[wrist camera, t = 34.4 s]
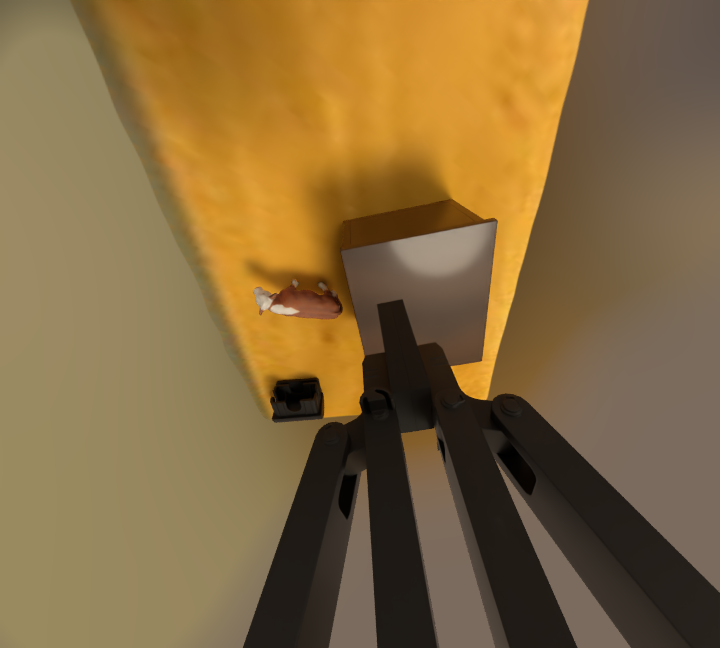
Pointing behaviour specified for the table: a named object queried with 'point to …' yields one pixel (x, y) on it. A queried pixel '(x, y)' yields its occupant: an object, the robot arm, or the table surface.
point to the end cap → (297, 400)
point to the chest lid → (427, 286)
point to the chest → (406, 222)
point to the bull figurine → (300, 302)
